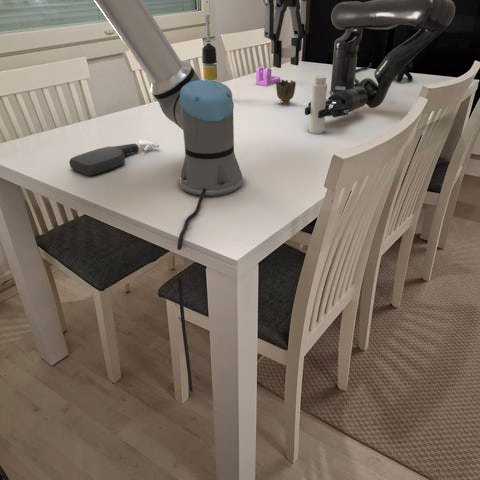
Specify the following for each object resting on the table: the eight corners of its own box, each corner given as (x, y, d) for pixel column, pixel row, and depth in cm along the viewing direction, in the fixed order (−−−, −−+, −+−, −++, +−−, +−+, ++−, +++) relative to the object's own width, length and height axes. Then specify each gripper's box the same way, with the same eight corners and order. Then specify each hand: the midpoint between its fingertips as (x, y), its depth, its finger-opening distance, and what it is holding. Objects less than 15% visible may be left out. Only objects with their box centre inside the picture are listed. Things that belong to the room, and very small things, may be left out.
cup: (272, 105, 169) (272, 83, 165) (279, 100, 174) (280, 79, 170) (290, 107, 166) (291, 85, 162) (297, 102, 171) (298, 80, 167)
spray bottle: (67, 168, 120) (139, 144, 136) (91, 178, 114) (163, 151, 130) (65, 157, 118) (137, 134, 134) (89, 167, 112) (162, 142, 128)
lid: (283, 53, 120) (283, 44, 119) (298, 55, 118) (299, 46, 116) (273, 56, 117) (273, 47, 116) (289, 58, 114) (289, 48, 113)
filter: (220, 99, 177) (217, 15, 161) (206, 100, 176) (202, 16, 160) (215, 96, 182) (212, 14, 166) (202, 97, 180) (197, 14, 164)
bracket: (266, 85, 195) (266, 69, 192) (256, 84, 198) (256, 67, 195) (282, 80, 204) (282, 64, 200) (272, 78, 207) (272, 62, 203)
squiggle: (400, 92, 202) (376, 71, 205) (417, 76, 202) (392, 56, 205) (405, 81, 191) (380, 59, 194) (423, 64, 191) (397, 42, 194)
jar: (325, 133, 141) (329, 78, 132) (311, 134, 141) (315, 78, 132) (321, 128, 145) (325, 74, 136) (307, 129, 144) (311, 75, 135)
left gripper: (265, -37, 100) (264, 72, 112) (328, -39, 107) (321, 64, 119) (248, -37, 105) (249, 67, 118) (310, -38, 112) (304, 59, 125)
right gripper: (327, 87, 150) (294, 97, 140) (364, 94, 141) (332, 105, 131) (325, 109, 154) (293, 120, 144) (361, 117, 145) (330, 130, 135)
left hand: (285, 65), depth 118 cm, fingers closed on lid, 5 cm apart
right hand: (312, 113), depth 138 cm, fingers closed on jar, 4 cm apart
